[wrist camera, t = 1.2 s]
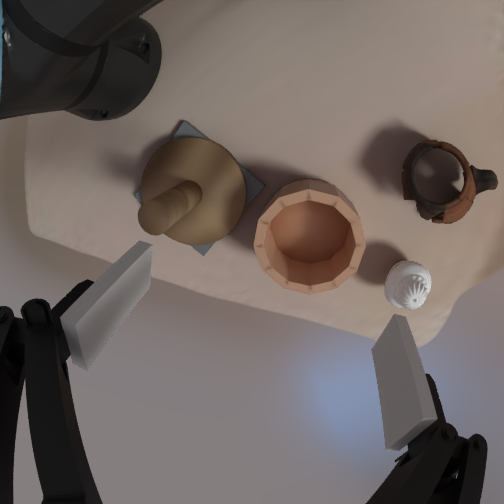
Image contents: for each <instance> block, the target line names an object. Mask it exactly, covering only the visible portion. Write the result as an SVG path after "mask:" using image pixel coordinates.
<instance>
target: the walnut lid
mask: <svg viewBox="0 0 504 504" xmlns="http://www.w3.org/2000/svg"><path fill="white" fill-rule="evenodd" d="M142 198H143V203H144V204H143V205H142V206H141V207H140V209H139V211H138V220H139V223H140V225H141V227H142V228H143V230H144V231H146V232H147V233H149V234H151V235H161V234H163V233H164V234H165V235H167V236H168V237H170V238H171V239H173V240H175V241H178V242H180V243H184V244H188V245H206V244H211V243H213V242H216V241H218V240H220V239H222V238H223V237H225V236H226V235H227V234H228V233H229V232H230V231H231V230H232V229H233V228H234V227H235V226H236V224H237V223H238V221H239V220H240V218H241V216H242V214H243V211H244V209H245V205H246V199H247V186H246V180H245V177H244V174H243V171H242V169H241V167H240V165H239V163H238V162H237V160H236V159H235V158H234V157H233V155H232V154H231V153H230V152H229V151H228V150H227V149H225V148H224V147H223V146H221V145H220V144H218V143H216V142H214V141H211V140H208V139H205V138H200V137H187V138H181V139H177V140H174V141H171V142H169V143H167V144H165V145H163V146H162V147H161V148H160V149H158V150H157V151H156V152H155V153H154V154H153V156H152V157H151V158H150V160H149V161H148V163H147V165H146V167H145V170H144V173H143V177H142Z"/></svg>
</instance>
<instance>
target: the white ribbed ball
mask: <svg viewBox="0 0 504 504" xmlns="http://www.w3.org/2000/svg"><path fill="white" fill-rule="evenodd" d="M385 281H386V282H385V287H384V292H385V296H386V298H387V300H388V301H389V302H390V303H391V304H392V305H394V306H395V307H398V308H405V309H408V310H412V309H416V308H417V307H420V306H421V304H424V301H425V300H426V299H427V298H426V296H427V294H428V293H429V291H430V288H431V275H430V273H429V271H428V270H427V269H426V268H425V267H424V266H423V265H421V264H419V263H417V262H414V261H400V262H397V263H396V264H395V265H393V267H392V268H391V269H390V271H389V273H388V275H387V278H386V280H385Z"/></svg>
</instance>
